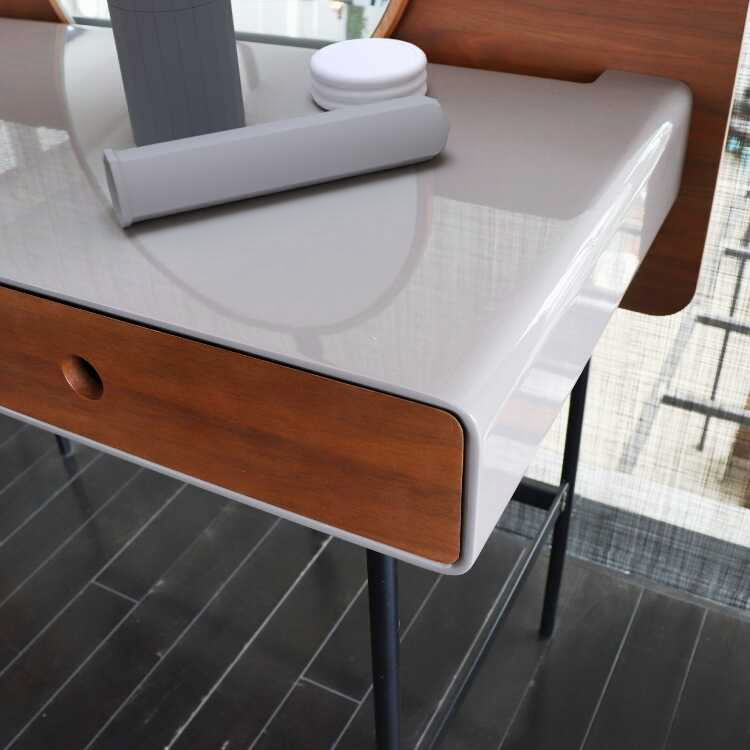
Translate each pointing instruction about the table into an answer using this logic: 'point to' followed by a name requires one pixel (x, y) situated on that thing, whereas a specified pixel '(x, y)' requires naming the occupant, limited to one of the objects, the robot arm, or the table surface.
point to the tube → (272, 157)
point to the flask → (178, 67)
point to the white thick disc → (366, 72)
